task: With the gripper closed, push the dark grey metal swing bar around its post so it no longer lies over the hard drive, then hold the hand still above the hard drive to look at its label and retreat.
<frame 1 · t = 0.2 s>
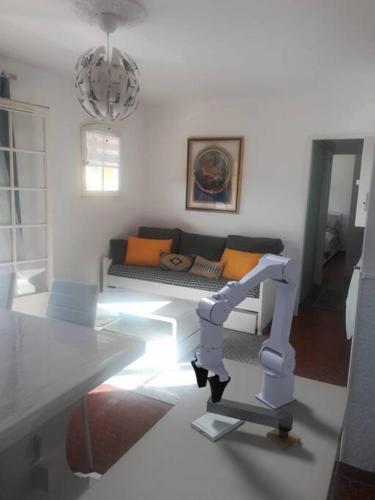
hand: (208, 394, 99), 10 cm above the table, tool pointing down, fingers open, 7 cm apart
swing bar: (283, 439, 97), resting on post mount, hinge at 0.0°
post mount: (283, 439, 97), on the table
hard drive: (217, 426, 103), on the table
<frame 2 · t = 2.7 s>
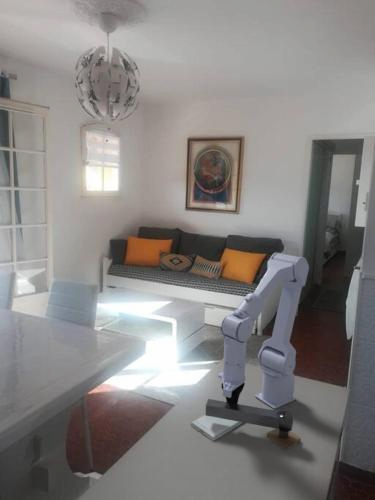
hand: (231, 408, 102), 4 cm above the table, tool pointing down, fingers closed
swing bar: (283, 439, 97), resting on post mount, hinge at 4.7°, touching gripper
everything else where it was.
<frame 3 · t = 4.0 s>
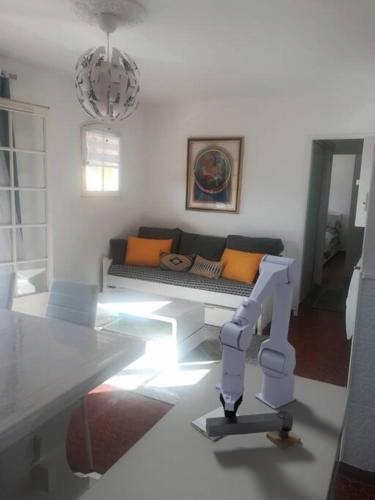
hand: (229, 420, 96), 4 cm above the table, tool pointing down, fingers closed
swing bar: (283, 439, 97), resting on post mount, hinge at 29.8°, touching gripper
everything else where it was.
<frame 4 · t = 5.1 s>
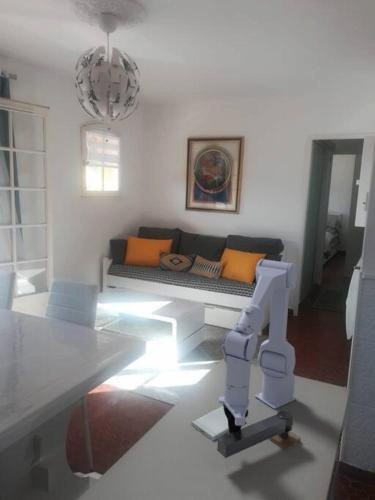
hand: (233, 434, 91), 4 cm above the table, tool pointing down, fingers closed
swing bar: (283, 439, 97), resting on post mount, hinge at 52.0°, touching gripper
everything else where it was.
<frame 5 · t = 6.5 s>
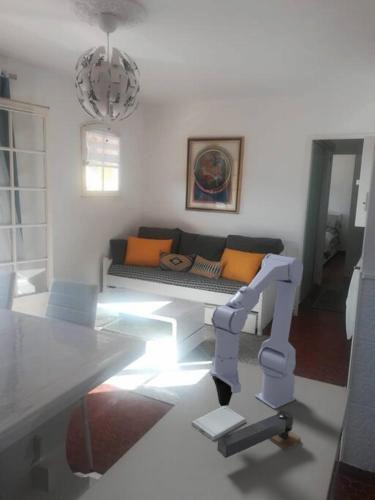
hand: (223, 404, 97), 8 cm above the table, tool pointing down, fingers closed
swing bar: (283, 439, 97), resting on post mount, hinge at 52.1°
everything else where it was.
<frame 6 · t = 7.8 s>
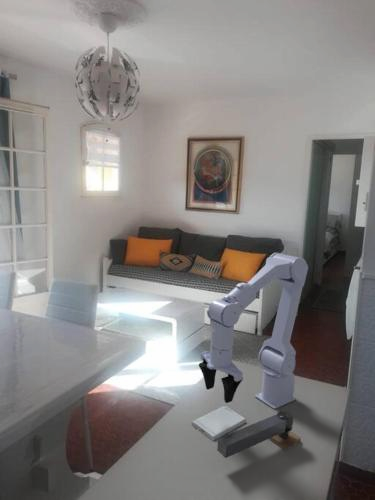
hand: (218, 394, 101), 8 cm above the table, tool pointing down, fingers open, 7 cm apart
nothing on the table moved.
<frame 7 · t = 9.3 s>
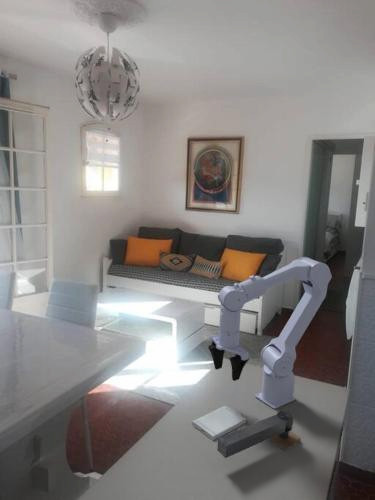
hand: (226, 373, 110), 9 cm above the table, tool pointing down, fingers open, 7 cm apart
nothing on the table moved.
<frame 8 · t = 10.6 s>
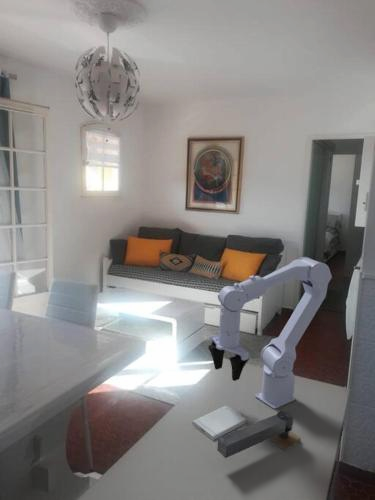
hand: (226, 373, 110), 9 cm above the table, tool pointing down, fingers open, 7 cm apart
nothing on the table moved.
at the end: swing bar at +52° (first picture: +0°); hard drive moved 1.0 cm from its start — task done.
